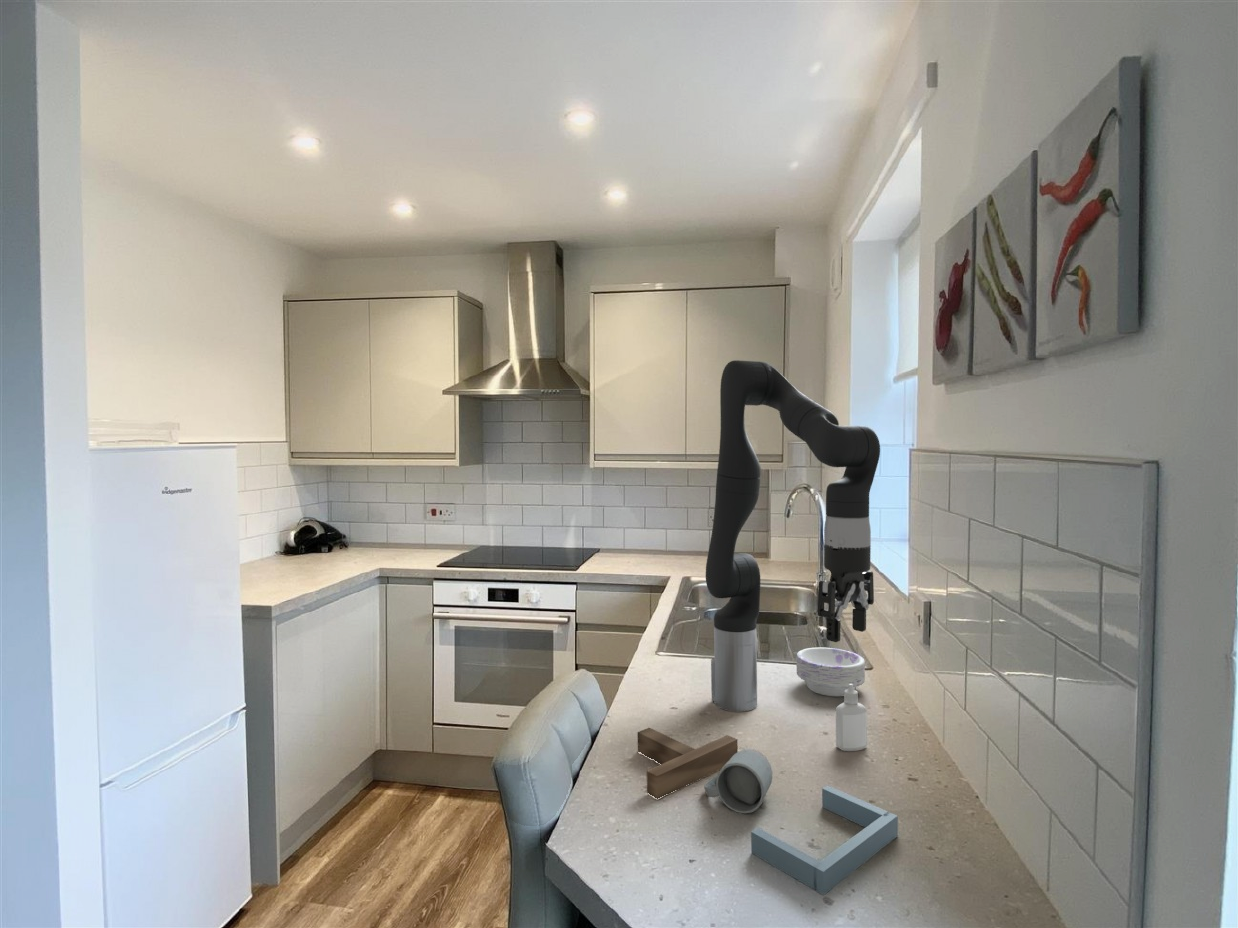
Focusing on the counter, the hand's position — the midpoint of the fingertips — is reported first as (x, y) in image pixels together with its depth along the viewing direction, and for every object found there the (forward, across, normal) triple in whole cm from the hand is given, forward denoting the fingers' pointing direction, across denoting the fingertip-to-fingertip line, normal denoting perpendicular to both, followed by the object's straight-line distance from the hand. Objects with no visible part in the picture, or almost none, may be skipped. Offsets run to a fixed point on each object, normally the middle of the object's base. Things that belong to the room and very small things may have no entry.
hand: (846, 635), depth 113 cm
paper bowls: (+25, -33, -23) cm, 47 cm away
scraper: (+25, +20, -23) cm, 39 cm away
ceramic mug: (+24, +20, -7) cm, 33 cm away
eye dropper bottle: (+24, -10, -4) cm, 27 cm away
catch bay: (+24, +21, +9) cm, 33 cm away
